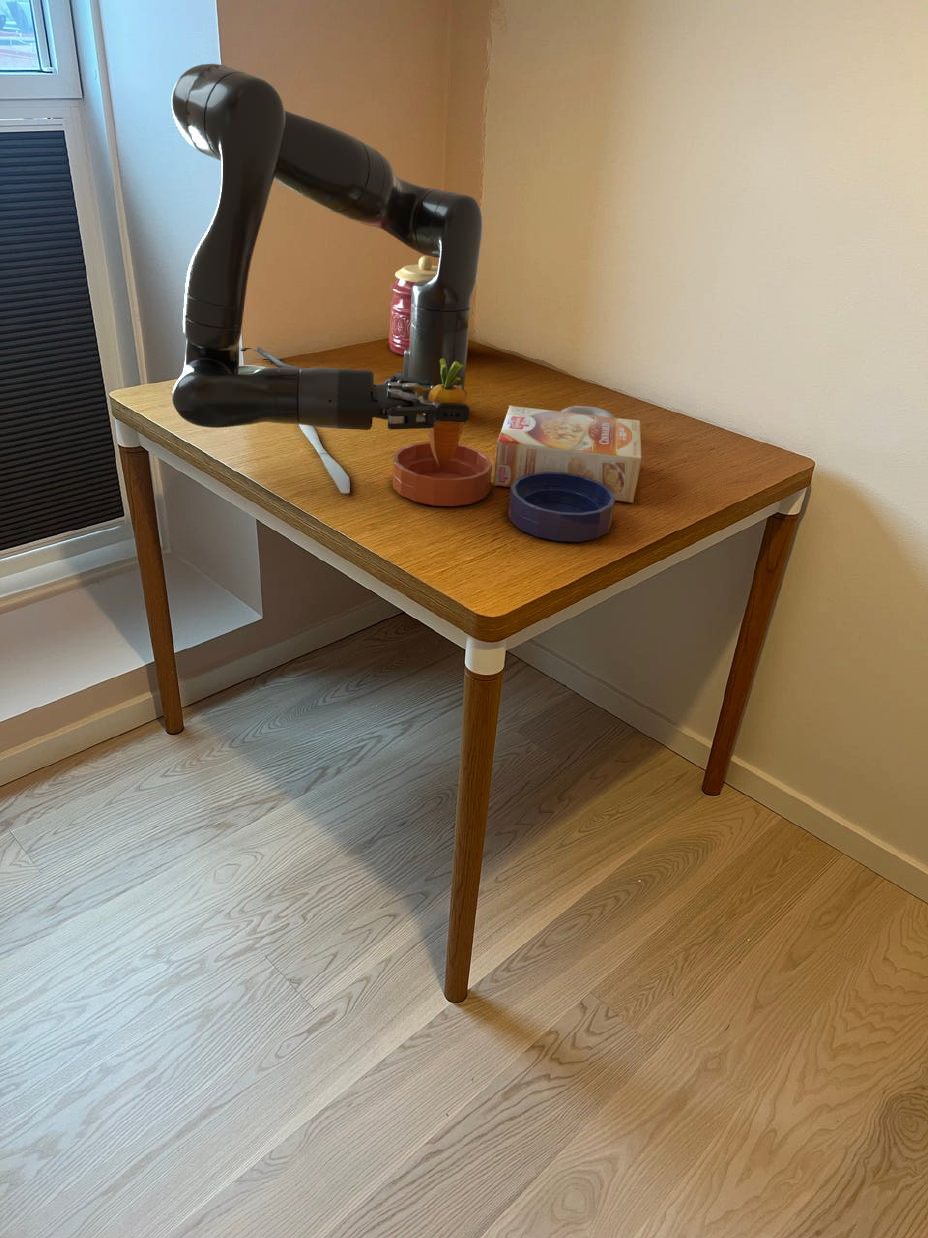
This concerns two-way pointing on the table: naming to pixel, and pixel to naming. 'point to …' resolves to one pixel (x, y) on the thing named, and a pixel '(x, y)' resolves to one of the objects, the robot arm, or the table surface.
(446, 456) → the carrot
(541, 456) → the coffeecake box
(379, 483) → the table surface
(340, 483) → the butter knife
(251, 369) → the saucer
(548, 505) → the indigo bowl
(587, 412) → the donut
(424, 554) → the table surface
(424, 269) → the kitchen canister
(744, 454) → the table surface
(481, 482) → the terracotta bowl
